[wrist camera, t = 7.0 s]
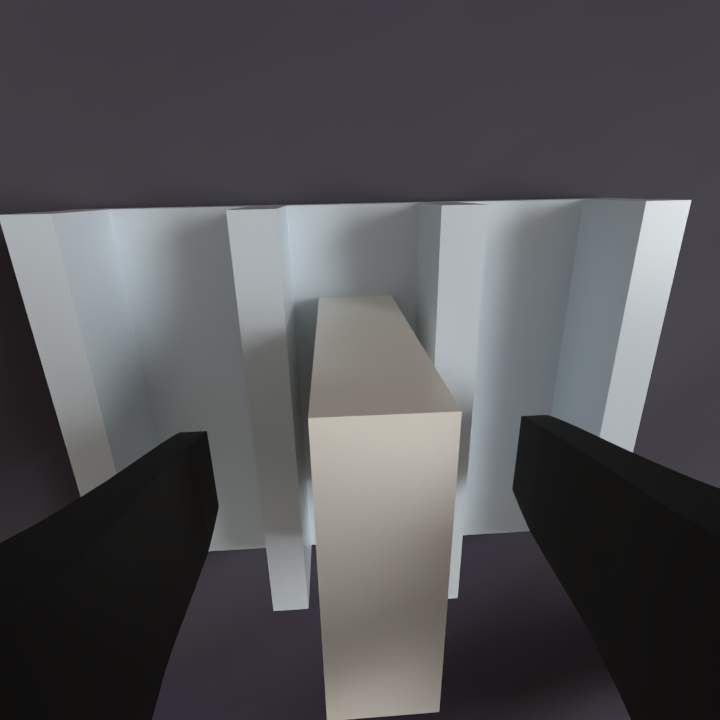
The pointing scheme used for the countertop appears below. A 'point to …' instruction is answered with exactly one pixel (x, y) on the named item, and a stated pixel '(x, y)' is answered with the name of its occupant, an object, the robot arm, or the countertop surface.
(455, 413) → the cream tile
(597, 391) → the drying rack
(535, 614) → the countertop surface
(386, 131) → the countertop surface
